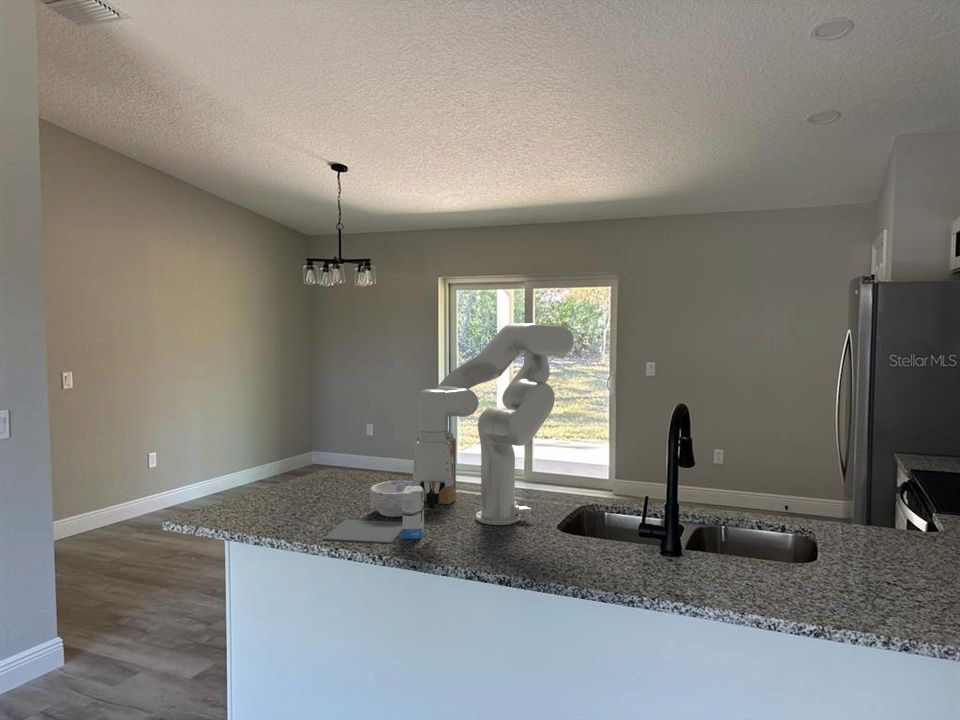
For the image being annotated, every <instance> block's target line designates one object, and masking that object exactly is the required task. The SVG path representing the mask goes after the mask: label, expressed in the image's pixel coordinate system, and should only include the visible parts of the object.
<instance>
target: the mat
mask: <svg viewBox="0 0 960 720" xmlns="http://www.w3.org/2000/svg"><path fill="white" fill-rule="evenodd" d="M401 533H403V521H402V522H401V521H386V520H385V521H381V520H363V519H362V520H361V519H359V520H358V519H344V520H343V521H342V522H341V523H340V524H339V525H337V526H336V527H335V528H334V529H333V530H331V531H330V532H329V533H328V534H327V535H326V536H324V537H322V540H323V541H332V540H333V542H335V541H337V542H355V543H374V544H393V543H394V542H395V541H396V540H397V539H398V537H399V536H400V535H401ZM399 534H400V535H399ZM398 535H399V536H398ZM394 540H395V541H394Z"/></svg>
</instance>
